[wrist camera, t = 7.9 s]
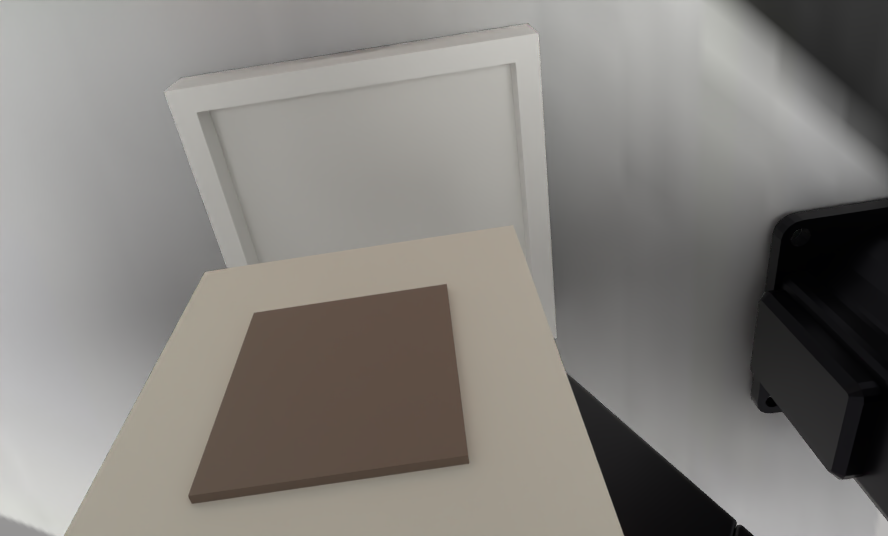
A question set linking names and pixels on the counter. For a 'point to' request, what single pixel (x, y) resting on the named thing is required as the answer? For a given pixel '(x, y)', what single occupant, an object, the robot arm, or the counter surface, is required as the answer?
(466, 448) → the letter block
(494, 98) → the tray grey
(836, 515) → the counter surface
